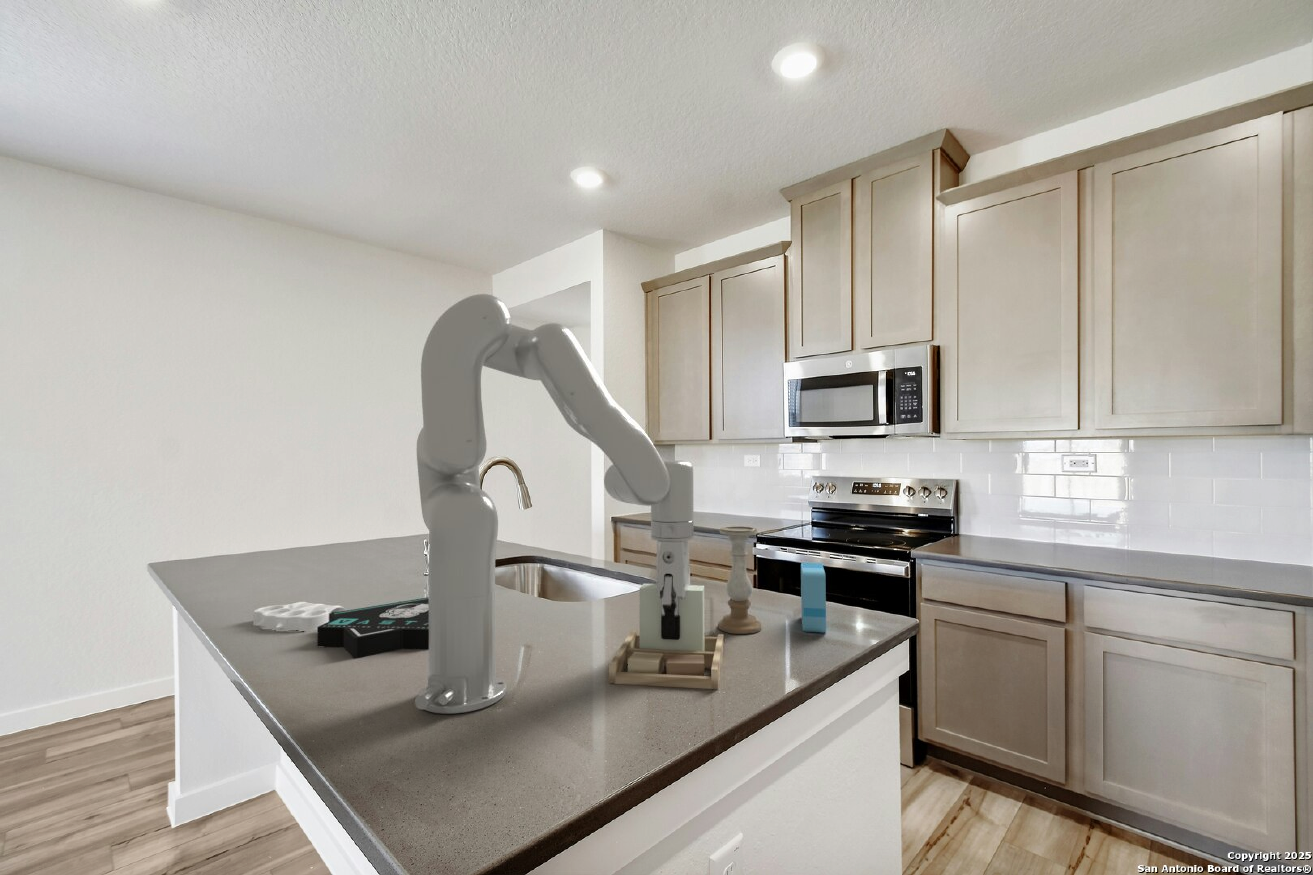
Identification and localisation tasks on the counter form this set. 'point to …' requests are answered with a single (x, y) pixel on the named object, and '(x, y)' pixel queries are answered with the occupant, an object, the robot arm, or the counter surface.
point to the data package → (813, 597)
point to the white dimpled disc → (294, 616)
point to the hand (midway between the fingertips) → (672, 633)
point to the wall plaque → (378, 628)
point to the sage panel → (688, 611)
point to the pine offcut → (646, 663)
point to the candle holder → (739, 584)
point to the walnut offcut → (685, 665)
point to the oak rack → (632, 644)
